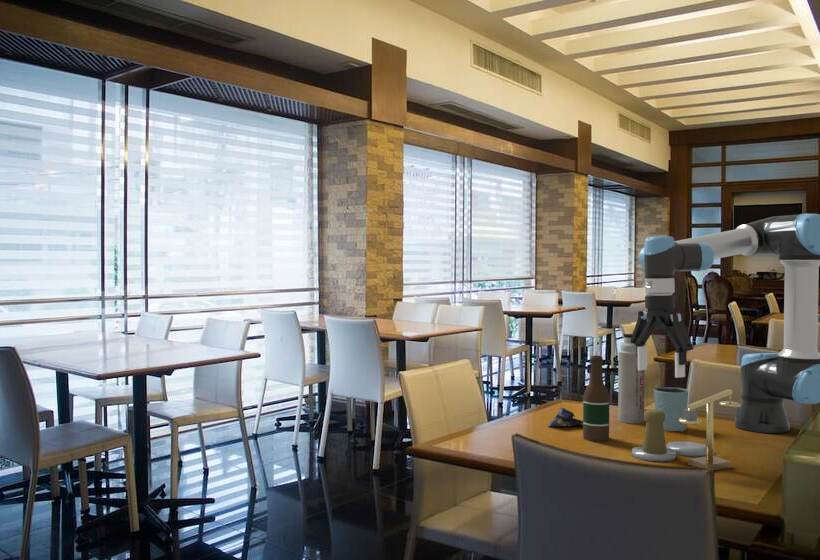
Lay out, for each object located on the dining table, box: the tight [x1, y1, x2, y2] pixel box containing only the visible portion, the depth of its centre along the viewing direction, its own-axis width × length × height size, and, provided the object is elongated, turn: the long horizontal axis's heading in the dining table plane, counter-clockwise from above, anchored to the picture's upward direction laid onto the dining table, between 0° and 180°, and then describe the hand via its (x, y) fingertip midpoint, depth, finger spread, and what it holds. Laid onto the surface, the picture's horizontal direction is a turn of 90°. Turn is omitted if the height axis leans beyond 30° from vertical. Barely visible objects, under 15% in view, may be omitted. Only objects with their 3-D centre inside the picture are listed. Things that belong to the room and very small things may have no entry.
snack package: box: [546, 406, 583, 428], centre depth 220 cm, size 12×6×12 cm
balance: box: [679, 388, 741, 471], centre depth 175 cm, size 19×6×19 cm, turn 114°
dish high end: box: [666, 440, 706, 458], centre depth 190 cm, size 11×11×1 cm
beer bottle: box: [582, 354, 610, 443], centre depth 203 cm, size 8×8×24 cm
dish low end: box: [631, 445, 677, 463], centre depth 185 cm, size 11×11×1 cm
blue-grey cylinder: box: [653, 386, 689, 432], centre depth 216 cm, size 10×10×12 cm
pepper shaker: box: [642, 408, 667, 454], centre depth 185 cm, size 6×6×11 cm
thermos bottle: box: [617, 333, 645, 424], centre depth 226 cm, size 8×8×28 cm
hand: (660, 373), depth 188 cm, fingers open, 13 cm apart
